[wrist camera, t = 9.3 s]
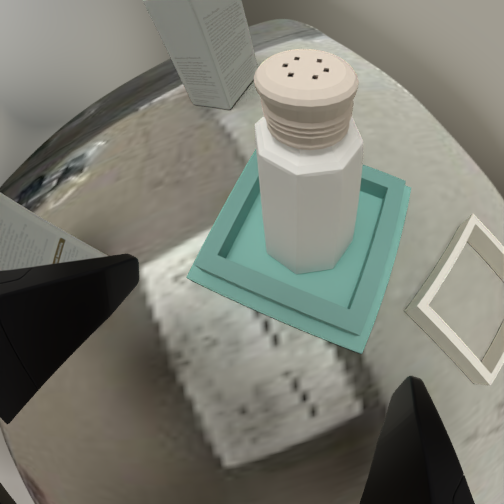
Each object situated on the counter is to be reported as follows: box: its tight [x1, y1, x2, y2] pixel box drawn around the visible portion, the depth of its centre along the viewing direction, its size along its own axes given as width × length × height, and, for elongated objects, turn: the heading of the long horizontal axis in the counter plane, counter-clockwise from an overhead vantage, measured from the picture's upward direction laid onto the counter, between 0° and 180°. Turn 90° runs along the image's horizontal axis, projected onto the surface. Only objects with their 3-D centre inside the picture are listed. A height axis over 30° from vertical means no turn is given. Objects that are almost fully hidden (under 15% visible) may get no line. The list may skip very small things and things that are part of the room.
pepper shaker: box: [254, 49, 363, 274], centre depth 11 cm, size 5×5×11 cm
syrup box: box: [0, 193, 107, 271], centre depth 12 cm, size 6×6×14 cm
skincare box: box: [143, 0, 258, 110], centre depth 17 cm, size 6×4×12 cm
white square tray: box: [405, 214, 504, 386], centre depth 12 cm, size 8×8×2 cm
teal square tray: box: [186, 149, 411, 354], centre depth 16 cm, size 11×11×2 cm
